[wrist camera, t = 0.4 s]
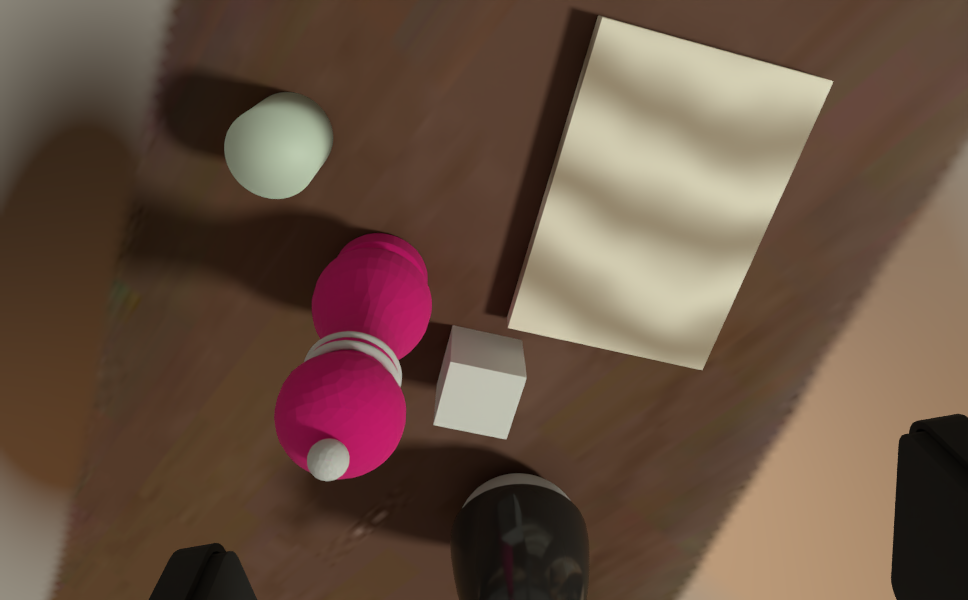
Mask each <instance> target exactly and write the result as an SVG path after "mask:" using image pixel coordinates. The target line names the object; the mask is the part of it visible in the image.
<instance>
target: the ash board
mask: <svg viewBox="0 0 968 600" xmlns="http://www.w3.org/2000/svg"><path fill="white" fill-rule="evenodd" d="M832 83H833V81H831V80H828V79H825V78H822V77H818V76H815V75H811V74H808V73H804V72H800V71H797V70H793V69H790V68H786V67H782V66H779V65H775V64H772V63H768V62H764V61H761V60H757V59H754V58H750V57H747V56H743V55H739V54H736V53H732V52H729V51H725V50H721V49H718V48H714V47H711V46H707V45H703V44H700V43H696V42H693V41H689V40H685V39H682V38H678V37H675V36H671V35H667V34H664V33H660V32H657V31H653V30H649V29H646V28H642V27H639V26H635V25H631V24H628V23H624V22H621V21H617V20H613V19H610V18H606V17H603V16H599V15H598V17H597V21H596V24H595V27H594V30H593V34H592V37H591V40H590V44H589V47H588V50H587V54H586V57H585V60H584V64H583V67H582V70H581V74H580V77H579V80H578V83H577V87H576V90H575V93H574V97H573V100H572V103H571V107H570V110H569V113H568V117H567V120H566V123H565V127H564V130H563V133H562V137H561V140H560V143H559V146H558V150H557V153H556V156H555V160H554V163H553V166H552V170H551V173H550V176H549V180H548V183H547V186H546V190H545V193H544V196H543V200H542V203H541V206H540V209H539V213H538V216H537V219H536V223H535V226H534V229H533V233H532V236H531V239H530V243H529V246H528V249H527V253H526V256H525V259H524V262H523V266H522V269H521V272H520V276H519V279H518V282H517V286H516V289H515V292H514V296H513V299H512V302H511V306H510V309H509V312H508V316H507V324H508V328H511V329H515V330H520V331H525V332H529V333H534V334H538V335H543V336H547V337H552V338H557V339H561V340H566V341H570V342H575V343H580V344H584V345H589V346H593V347H598V348H603V349H607V350H612V351H616V352H621V353H625V354H630V355H635V356H639V357H644V358H648V359H653V360H658V361H662V362H667V363H671V364H676V365H681V366H685V367H690V368H694V369H699V370H703V367H704V365H705V363H706V361H707V359H708V356H709V354H710V352H711V350H712V348H713V345H714V343H715V341H716V339H717V337H718V334H719V332H720V330H721V328H722V326H723V323H724V321H725V319H726V317H727V315H728V312H729V310H730V308H731V306H732V304H733V301H734V299H735V297H736V295H737V293H738V290H739V288H740V286H741V284H742V282H743V279H744V277H745V275H746V273H747V271H748V268H749V266H750V264H751V262H752V260H753V257H754V255H755V253H756V251H757V249H758V246H759V244H760V242H761V240H762V238H763V235H764V233H765V231H766V229H767V227H768V224H769V222H770V220H771V218H772V216H773V213H774V211H775V209H776V207H777V205H778V202H779V200H780V198H781V196H782V194H783V191H784V189H785V187H786V185H787V183H788V180H789V178H790V176H791V174H792V171H793V169H794V167H795V165H796V163H797V160H798V158H799V156H800V154H801V152H802V149H803V147H804V145H805V143H806V141H807V138H808V136H809V134H810V132H811V130H812V127H813V125H814V123H815V121H816V119H817V116H818V114H819V112H820V110H821V108H822V105H823V103H824V101H825V99H826V97H827V94H828V92H829V90H830V88H831V86H832Z"/></svg>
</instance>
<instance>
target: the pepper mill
mask: <svg viewBox="0 0 968 600" xmlns="http://www.w3.org/2000/svg"><path fill="white" fill-rule="evenodd" d="M427 278H428V277H427V270H426V266H425V264H424V262H423V259H422V257H421V256H420V254H419V253H418V252H417V250H416V249H415V248H413V247H412V246H411V245H410V244H409V243H408V242H406V241H404V240H403V239H401V238H399V237H396V236H393V235H389V234H383V233H372V234H366V235H363V236H360V237H358V238H356V239H354V240H352V241H351V242H349V243H348V244H347V245H346V246H345V247H344V248H343V249H342V250H341V252H340V253H339V255H338V256H337V258H336V259H334V260H333V261H332V262H331V263H330V264H329V265H328V266H327V267H326V268H325V269H324V270H323V272H322V273H321V275H320V277H319V279H318V281H317V283H316V287H315V290H314V294H313V298H312V316H313V321H314V326H315V329H316V331H317V334H318V335H319V337H320V339H321V340H319V341H318V342H317V343H316V344H314V345H313V346H312V348H311V349H310V350H309V352H308V354H307V356H306V358H305V361H304V363H303V364H301V365H300V366H298V367H297V368H296V369H295V370H293V371H292V372H291V374H290V375H289V376H288V378H287V379H286V381H285V382H284V383H283V386H282V388H281V390H280V393H279V395H278V398H277V402H276V407H275V416H274V420H275V427H276V432H277V436H278V439H279V442H280V444H281V445H282V447H283V448H284V450H285V452H286V453H287V455H288V456H289V457H290V458H291V459H292V460H293V461H294V462H295V463H296V464H297V465H298V466H300V467H301V468H303V469H305V470H306V471H308V472H310V473H311V474H312V475H313V476H314V477H315V478H317V479H319V480H323V481H332V480H336V479H347V478H354V477H358V476H361V475H364V474H366V473H368V472H370V471H372V470H374V469H376V468H377V467H378V466H380V465H381V464H382V463H384V462H385V461H386V460H387V459H388V458H389V457H390V455H391V454H392V453H393V451H394V450H395V449H396V447H397V445H398V443H399V441H400V439H401V436H402V433H403V430H404V426H405V422H406V404H405V399H404V395H403V393H402V391H401V388H400V386H401V381H402V371H401V367H400V363H399V361H398V360H400V359H401V358H403V357H404V356H405V355H407V354H408V353H409V352H411V351H412V350H413V349H414V347H415V346H416V345H417V344H418V343H419V341H420V340H421V339H422V337H423V335H424V333H425V332H426V329H427V326H428V323H429V319H430V316H431V310H432V300H431V294H430V290H429V287H428V285H427Z"/></svg>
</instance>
